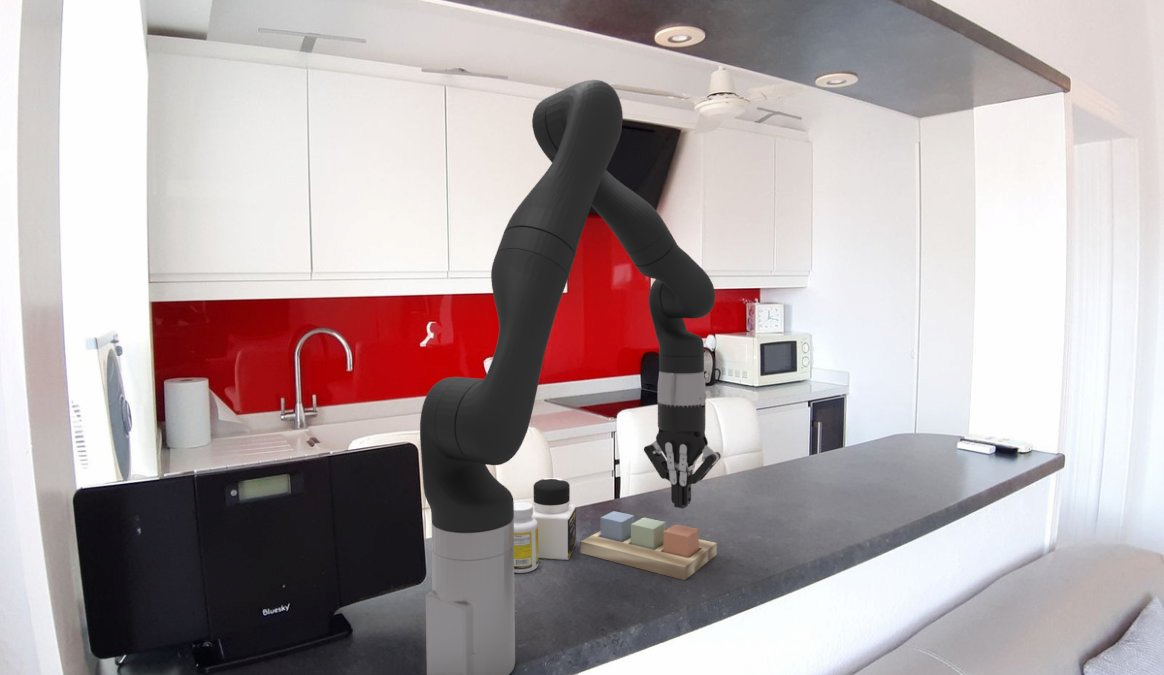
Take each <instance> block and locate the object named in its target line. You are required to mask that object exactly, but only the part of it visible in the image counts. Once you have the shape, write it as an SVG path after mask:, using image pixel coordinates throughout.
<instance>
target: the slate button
mask: <svg viewBox="0 0 1164 675" xmlns="http://www.w3.org/2000/svg"><path fill="white" fill-rule="evenodd" d="M599 521H600V527H599V528H600V530H599V531H600V537H602V538H606V539H611V540H615V541H619V542H624V541H626V540H627V539H629V538H631V524H632V523H634V522H635V515H634V514H630V513H624V512H619V511H615V510H613V511H611V512H609V513H607V514H605V515H603V516H601V517H600V520H599Z"/></svg>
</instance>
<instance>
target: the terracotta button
mask: <svg viewBox="0 0 1164 675" xmlns="http://www.w3.org/2000/svg"><path fill="white" fill-rule="evenodd" d="M699 539H700V529H699V528H695V527H690V526H686V525H681V524H674V525H672V526H669V527H668V528H667V529H666V530H665V531H664V535H663V552H665V553H669V554H673V555H677V556H681V557H686V558H690V556H692V555H693V554H695V553H696V552H697V551H699Z"/></svg>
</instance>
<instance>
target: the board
mask: <svg viewBox="0 0 1164 675" xmlns="http://www.w3.org/2000/svg"><path fill="white" fill-rule="evenodd" d="M717 544H718V543H717V542H713V541H709V540H705V539H700V538H699V551H697V552H696V553H695V554H693V555H692V556H690V557H689V558H686V557H681V556H677V555H673V554H669V553H665V552H663V545H661V546H660V547H658V548H657V549H655V550H652V549H648V548H644V547H640V546H636V545H631V538H629V539H627V540H626V541H624V542H619V541H615V540H611V539H606V538H602V537H600V530H599V531H597V532H596V533H594V534H592V535H590V536H588V537H587V538H585V539H582V540H580V554H583V555H587V556H590V557H595V558H598V559H600V560H601V559H602V560H605V561H606V560H607V561H611V562H614V563H617V564H621V565H625V566H629V567H632V568H636V569H641V570H644V571H648V572H652V573H655V574H659V575H662V576H666V577H667V576H668V577H670V578H675V579H677V580H681V581H685V580H687V579H688V578H690V577H691V576H692V575H693V574H695V573H696V572H697V571H698V570H699V569H701V568H702V567H703V566H705V564H707V563H709V562H710V561H711V560H712V559H713V558H715V557H716V556H717V550H718V549H717Z"/></svg>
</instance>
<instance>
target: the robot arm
mask: <svg viewBox="0 0 1164 675" xmlns="http://www.w3.org/2000/svg"><path fill="white" fill-rule="evenodd" d="M623 118H624V116H623V107H622V103H621V100H620V97H619V95H618V93H617V91H616V90H615V89H614V87H612V86H611V85H610V84H609V83H608V82H606V81H603V80H600V79H599V80H598V79H590V80H584V81H581V82H578V83H575V84H574V85H573V84H572V85H571V86H569V87H566V88H564V89H562V90H560V91H557V92H555V93H553V94H552V95H550V96H548V97H546V98H543V99H542V100H541V101H540V102H539V103H537V105H536V107H535V108H534V111H533V114H532V120H531V123H532V124H531V126H532V131H533V134H534V138H535V140H536V141H537V144H538V146H539V147H540V149H541V150H542V152H543V153H544V155H545V156H546V158H547V159H548V160H549V161H550V162H551V164H550V166H549V168H548V169H547V170H546V171H545V173H544V174H543V175H542V177H540V179H539V180H538V181H537V183H536V184H535V185H533V186H534V187H533V188H532V189H531V190H530V191H529V192H528V194H527V195H526V196H525V197H524V199H523V200H522V201H521V203H520V204H519V205H518V206H517V208H516V209H515V211H514V212H513V213H512V215H511V217H510V218H509V221H508V223H507V225H506V227H505V229H504V231H503V234H502V237H501V239H500V242H499V245H498V248H497V251H496V252H495V256H494V259H493V262H492V265H491V271H490V273H491V274H490V279H491V289H492V293H493V299H494V304H495V308H496V312H497V318H498V320H497V321H498V328H499V329H498V338H497V342H496V347H495V351H494V354H493V357H492V360H491V363H490V366H489V369H488V371H487V372H486V375H485V378H475V377H463V376H453V377H452V376H450V377H446V378H442V379H441V380H439V381H438V382H436V383H435V384H434V385H433V386H432V387H431V388H430V389H429V391H428V392H427V395H426V396H425V399H424V400H423V404H422V407H421V408H422V409H421V412H420V421H419V435H420V436H419V438H420V439H419V441H420V455H421V457H420V458H421V471H422V472H421V473H422V485H423V493H424V497H425V500H426V501H427V502H426V503H427V504H428V505H429V508H430V515H431V516H430V517H431V569H432V571H431V572H432V573H431V574H432V575H431V576H432V578H431V581H432V582H431V583H432V590H430V591H429V592H427V593H426V594H425V635H426V636H425V638H426V640H425V641H426V649H425V650H426V675H510V674H511V673H513V671H514V668H515V666H516V630H515V629H516V628H515V627H516V626H515V624H516V623H515V622H516V621H515V620H516V619H515V618H516V617H515V610H516V609H515V608H516V607H515V573H514V503H515V502H514V501H515V500H514V498H513V494H512V492H511V491H510V490H509V489H508V487H506V486H505V485H503V484H502V483H501V482H500V481H498V479H497V478H496V477H494V475H493V474H492V473H491V472H490V469H488V467H487V465H489V466H499V465H504V464H505V463H507V462H509V461H511V459H512V458H514V457H515V456H516V454H518V451H519V450H520V448H521V447H522V444H523V443H524V440H525V437H526V436H527V433H528V430H529V425H530V422H531V418H532V414H533V410H534V405H535V400H536V396H537V391H538V386H539V382H540V378H541V373H542V368H543V364H544V363H543V362H544V359H545V354H546V350H547V347H548V343H549V340H550V337H551V336H550V335H551V333H552V330H553V327H554V326H553V325H554V323H555V318H556V315H557V311H558V308H559V305H560V302H561V299H562V297H563V295H564V291H565V288H566V286H567V283H568V280H569V277H570V274H571V270H572V267H573V264H574V263H575V259H576V258H575V257H576V254H577V250H578V247H579V244H580V243H579V242H580V239H581V236H582V234H583V230H584V228H585V224H586V222H587V219H588V218H589V217H588V216H589V213H590V210H591V208H593V209H594V211H595V212H596V213H597V214H598V216H599V217H601V219H602V220H603V221H604V223H605V224H606V225H607V226H608V227H609V229H610V230H611V231H612V233H613V234H614V235H615V236H616V238H617V240H618V241H619V243H620V244H621V246H622V247H623V249H624V251H625V252H626V254H627V255H628V256H629V258H630V260H631V261H632V263H633V264H634V266H635V267H636V269H637V270H638V271H639V273H640V274H642V275H643V276H644V277H647V278H650V279H654V281H653V282H652V284H651V287H650V290H649V294H648V306H649V312H650V317H651V320H652V323H653V327H654V332H655V335H656V340H657V343H658V346H659V351H658V354H659V356H658V357H659V358H658V360H659V362H658V366H659V367H658V369H659V372H658V380H657V427H658V431H657V434H656V436H655V441H653V442H652V443H651V444H649V445H646V446H644V448H643V452H644V453H645V455H646V456H647V458H648V460H649V461H650V463H651V464H652V466H653V467H654V469H655V470H656V472H657V473H658V475H659V477H660V478H661V479H663V480H667V481H668V482H670V486H671V488H670V490H671V491H670V492H671V493H670V496H671V497H670V498H671V503H672V504H673V506H674V508H677V509H685V508H687V507H688V506H689V504H691V502H692V485H695V484H697V483H699V482H700V481H702V480H703V479H704V478H705V477H706V476H707V475H708V474H709V472H710V471H711V470H712V468H713V467H715V465H716V464H717V463H718V461H719V460H721V458H722V456H721V454H720V452H718V451H714V450H713V449H712V448H710V447H709V443H708V438H707V437H706V434H705V432H706V400H707V394H706V393H707V392H706V391H707V390H706V380H705V372H704V371H705V345H704V340H703V338H702V337H701V336H700V335H699V334H698V335H697V334H695V333H692V332H691V331H689V330H688V329H687V327H686V324H685V320H684V319H701V318H703V317H706V316H708V315H709V314H710V312H712V310H713V308H714V307H715V306H714V305H715V303H716V291H715V287H714V284H713V283H712V282H713V281H712V280H711V278H710V277H709V275H708V273H707V272H706V271H705V270H704V269H703V268H702V267H701V266H700V265H699V264H698V262H696V261H695V260H694V259H693V258H692V257H691V256H690V254H688V253H687V252H685V251H684V250H683V249H682V248H681V247H680V246H679V245H678V243H677V242H676V240H675V238H674V237H673V235H672V233H671V231H670V230H669V228H668V226H667V225H666V223H665V221H664V220H663V218H662V217H661V215H660V213H659V212H658V211H657V210H656V209H655V208H654V206H652V204H650V203H649V202H648V201H647V200H645V199H644V198H642V196H640V195H638V193H636V192H635V191H633V190H632V189H630V188H629V187H627V186H626V185H624V184H623V183H622V182H621V181H619V180H618V179H617V178H615V177H614V176H613V175H612V174H611V173H610V172H609V171H608V170H607V168H608V165H609V164H610V161H611V159H612V157H613V155H614V154H615V153H614V152H615V151H616V148H617V147H618V146H617V145H618V143H619V141H620V138H621V137H620V136H622V135H621V134H622V131H623V129H622V127H623V121H624V120H623ZM701 455H702V456H701ZM700 457H701V461H702V462H701V464H700V466H698V467H697V469H696V470H695V467H696V462H697V460H698V459H699V458H700ZM694 470H695V471H694Z"/></svg>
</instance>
